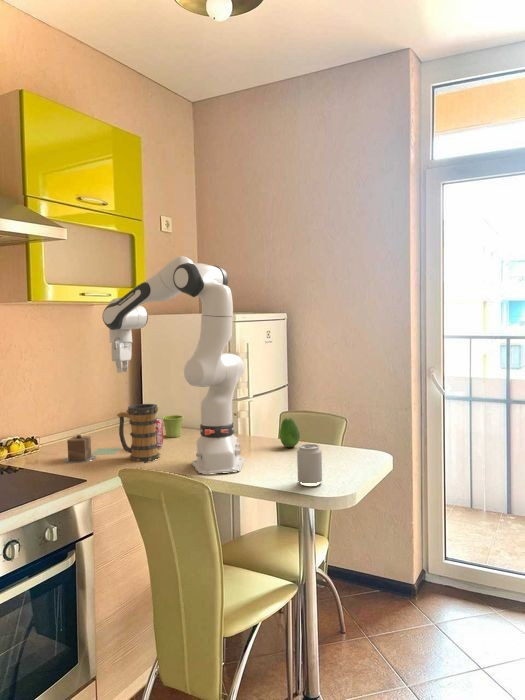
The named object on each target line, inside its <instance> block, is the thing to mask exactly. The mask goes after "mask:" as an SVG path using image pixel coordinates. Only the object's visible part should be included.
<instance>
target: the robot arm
mask: <svg viewBox="0 0 525 700" xmlns="http://www.w3.org/2000/svg"><path fill="white" fill-rule="evenodd" d="M228 285H229V277H228V273H227V272H226V270H225V269H224V268H221V267H220V266H217V265H212V264H211V265H210V264H206V263H201V262H198V263H195V262H193V260H192V259H190V257H187V256H183V255H179V256H177V257H176V258H173V259H172V260H171V261H169V262H168V263H166V264H165V265H164V266H163V267H161V269H160V270H158V272H156V273H155V274H153V275H152V276H151V277H150V278H148V279H146V280H145V281H143V282H141V283H140V284H138V285H136V286H135V287H134V288H133V289H131V290H129V292H127V293H126V294H124V295H123V296H122V297H118V298H113V299H112V300H110V301H109V304H107V306H106V307H105V308H104V310H103V312H102V321H103V323H104V325H105V326H106V327H107V328H108V331H109V332H108V333H109V343H110V344H111V360H112V362H115V366H116V372H117V373H118V374H119V373H126V372H128V367H129V366H128V365H129V361H131V360H132V354H133V353H132V347H133V346H132V343H133V342H134V339H133V336H132V335H133V334H132V330H138V329H143V328H145V326H146V325H147V324H148V322H149V321H148V320H149V314H148V310H147V309H146V308H145V307H144V306H143V305H144V304H146V303H147V304H148V303H153V302H165V301H169V300H171V299H174V298H175V297H177V296H178V295H179V294H181V293H184V294H186V295H188V296H190V297H192V298H196V297H198V298H199V299H200V301H201V315H200V316H201V318H200V332H199V333H200V334H199V339H198V343H197V345H196V347H195V351H194V353H193V354H192V355H191V357H190V358H189V359H188V361H186V363H185V364H184V368H183V376H184V378H185V380H186V382H187V383H188V384H189V385H190V386H193V387H199V388H207V387H208V390H207V393H206V395H205V396H204V397H203V399H202V400H201V402H200V420H201V421H200V422H201V424H200V428H199V432H200V434H199V435H200V437H198V439H197V440H196V454H195V455H196V459H194V460H192V461H191V465H192V466H193V468H194V467H195V468H194V469H195V470H196V472H197V471H198V472H199V473H202V474H201V475H211V474H210V473H223V472H233V471H238V470H240V469H241V470H242V468H241V467H243V466H242V464H243V465H244V463H243V462H245V458H244V457H242V456H241V449H240V443H239V438H238V437H237V436H236V435H235V434H234V433H235V426H234V422H233V400H234V399H233V398H234V393H235V389H236V387H237V384H238V382H239V380H240V379H241V377H243V375H244V372H245V364H244V361H243V359H242V358H241V357H240V356H239V355H237V354H233V353H227V352H226V353H225V352H224V349H225V347H226V346H227V344H228V343H229V342H230V341H231V340H232V337H233V324H234V323H233V322H234V321H233V320H234V316H233V315H234V303H233V294H232V290H231V288H230V287H229V286H228ZM241 470H240V471H241ZM198 472H197V473H198ZM199 473H198V474H199Z"/></svg>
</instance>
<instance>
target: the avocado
mask: <svg viewBox="0 0 525 700" xmlns="http://www.w3.org/2000/svg"><path fill="white" fill-rule="evenodd" d="M295 422H296V421H294V419H293V418H292V417H285V418H284V419H283V420H282V421H281V424H280V425H281V426H280V430H279V438H280V442H281V443H282V445H283V446H284V447H285V446H286V447H285V448H287V447H291V448H294V447H295V446H297V444H298V443H299V441H300V438H301V435H300V434H301V433H300V430H299V428H298V426H297V423H295ZM293 446H294V447H293Z"/></svg>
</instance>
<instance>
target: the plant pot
mask: <svg viewBox="0 0 525 700" xmlns="http://www.w3.org/2000/svg"><path fill="white" fill-rule="evenodd" d="M183 419H184V415H178V414H173V415H172V414H171V415H166V416H162V421H163V423H164V430H165V436H166V438H170V437H171V438H178V437H181V434H182V423H183Z"/></svg>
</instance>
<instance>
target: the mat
mask: <svg viewBox="0 0 525 700" xmlns="http://www.w3.org/2000/svg"><path fill="white" fill-rule="evenodd" d="M122 449H123V447H112V448H111V447H110V448H109V447H105V448H102V447H101V448H97V449H95V450H94V451H93V452H92V451H91V455H93V456H97V455H116V454H117V453H118V452H120V450H122Z"/></svg>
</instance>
